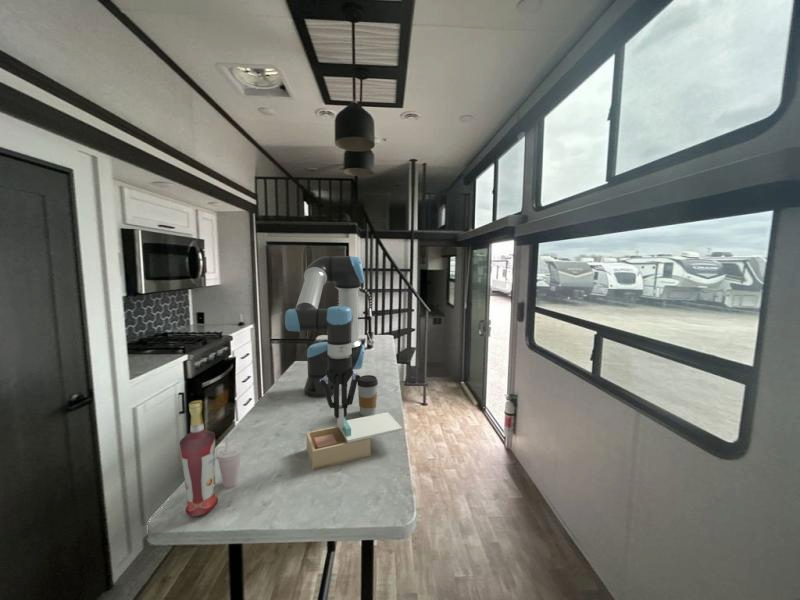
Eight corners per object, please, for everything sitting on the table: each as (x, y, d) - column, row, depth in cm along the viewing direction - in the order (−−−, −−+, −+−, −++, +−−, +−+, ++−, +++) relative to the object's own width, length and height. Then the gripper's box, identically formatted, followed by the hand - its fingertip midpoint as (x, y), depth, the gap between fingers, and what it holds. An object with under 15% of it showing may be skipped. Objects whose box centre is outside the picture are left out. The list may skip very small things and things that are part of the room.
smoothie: (224, 476, 94) (221, 430, 93) (247, 475, 95) (244, 429, 93) (213, 492, 88) (210, 443, 86) (238, 490, 89) (235, 442, 87)
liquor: (215, 517, 79) (208, 407, 76) (180, 524, 77) (171, 411, 74) (222, 496, 86) (216, 395, 83) (190, 502, 84) (183, 398, 81)
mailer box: (306, 449, 108) (306, 432, 108) (358, 437, 116) (358, 421, 115) (313, 470, 97) (312, 451, 97) (370, 455, 105) (370, 438, 104)
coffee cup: (374, 419, 130) (374, 382, 128) (354, 417, 131) (354, 381, 129) (380, 409, 138) (380, 375, 136) (361, 408, 139) (361, 374, 138)
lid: (337, 424, 112) (337, 415, 112) (387, 414, 120) (387, 405, 120) (347, 442, 101) (347, 432, 100) (402, 430, 109) (402, 421, 108)
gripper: (321, 361, 97) (322, 436, 100) (363, 356, 103) (363, 427, 105) (316, 354, 104) (318, 425, 107) (356, 350, 109) (356, 417, 112)
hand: (340, 426), depth 106 cm, fingers closed
